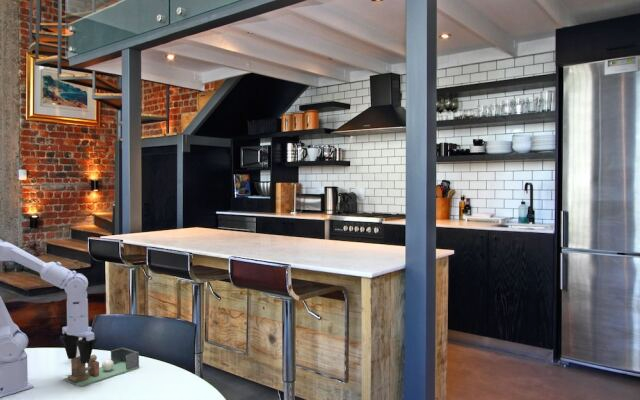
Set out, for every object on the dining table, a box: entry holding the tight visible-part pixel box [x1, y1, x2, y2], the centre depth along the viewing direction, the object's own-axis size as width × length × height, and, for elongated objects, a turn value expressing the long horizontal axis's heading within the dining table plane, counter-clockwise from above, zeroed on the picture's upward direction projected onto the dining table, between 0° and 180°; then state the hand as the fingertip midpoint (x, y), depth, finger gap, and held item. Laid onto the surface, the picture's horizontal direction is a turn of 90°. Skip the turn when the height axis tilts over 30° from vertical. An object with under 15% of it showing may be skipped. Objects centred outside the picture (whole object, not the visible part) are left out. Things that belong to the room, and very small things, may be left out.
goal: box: [110, 347, 140, 370], centre depth 165 cm, size 4×9×5 cm, turn 54°
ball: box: [101, 358, 114, 371], centre depth 161 cm, size 4×4×4 cm
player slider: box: [67, 354, 100, 382], centre depth 154 cm, size 8×4×6 cm, turn 144°
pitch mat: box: [63, 362, 139, 388], centre depth 159 cm, size 19×10×1 cm, turn 144°
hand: (78, 360), depth 153 cm, fingers open, 7 cm apart
